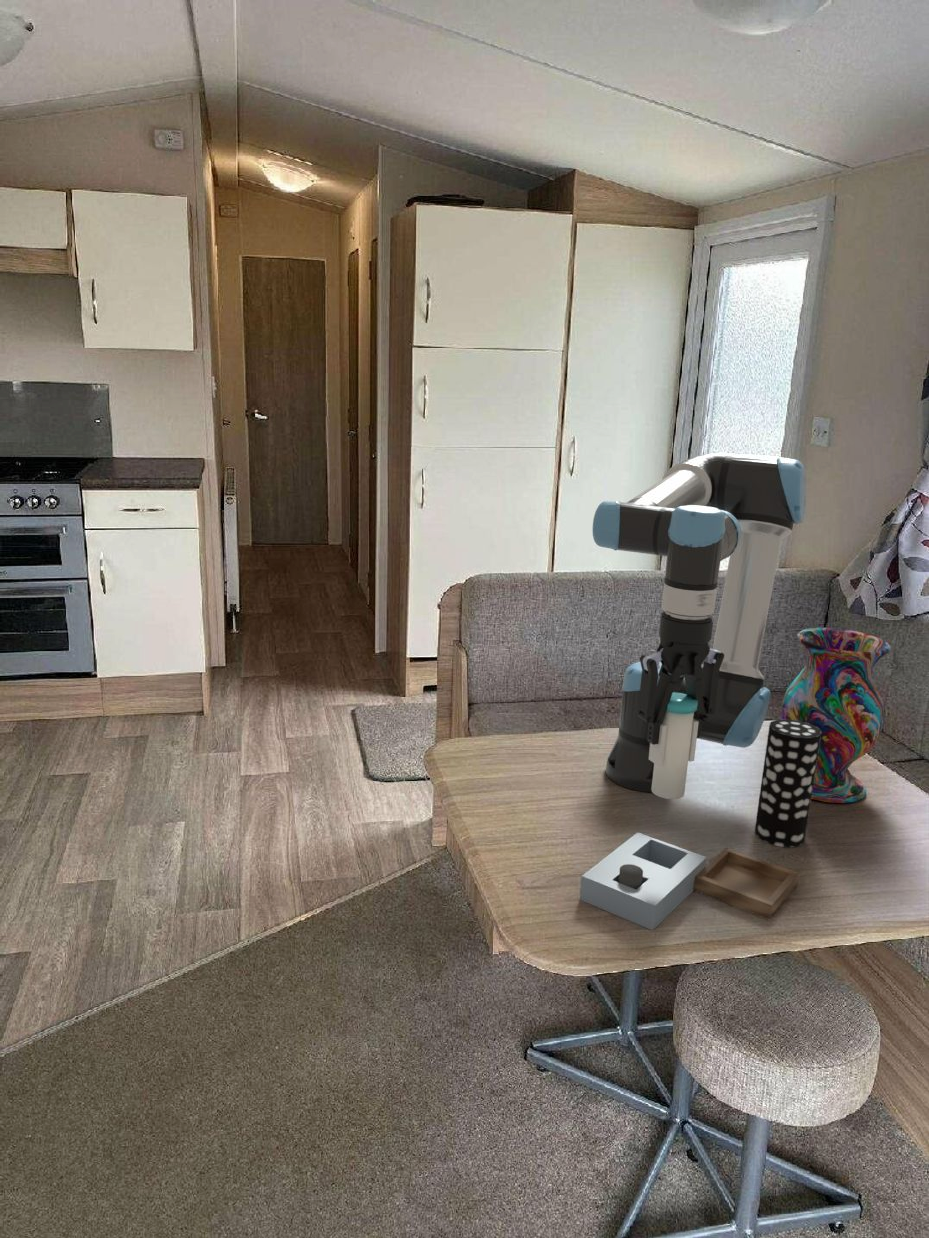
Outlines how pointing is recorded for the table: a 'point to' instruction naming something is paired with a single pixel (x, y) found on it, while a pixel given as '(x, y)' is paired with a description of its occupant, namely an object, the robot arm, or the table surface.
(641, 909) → the housing
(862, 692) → the vase
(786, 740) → the spotted tube
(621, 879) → the plunger
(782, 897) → the tray
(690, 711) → the ball
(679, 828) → the table surface
